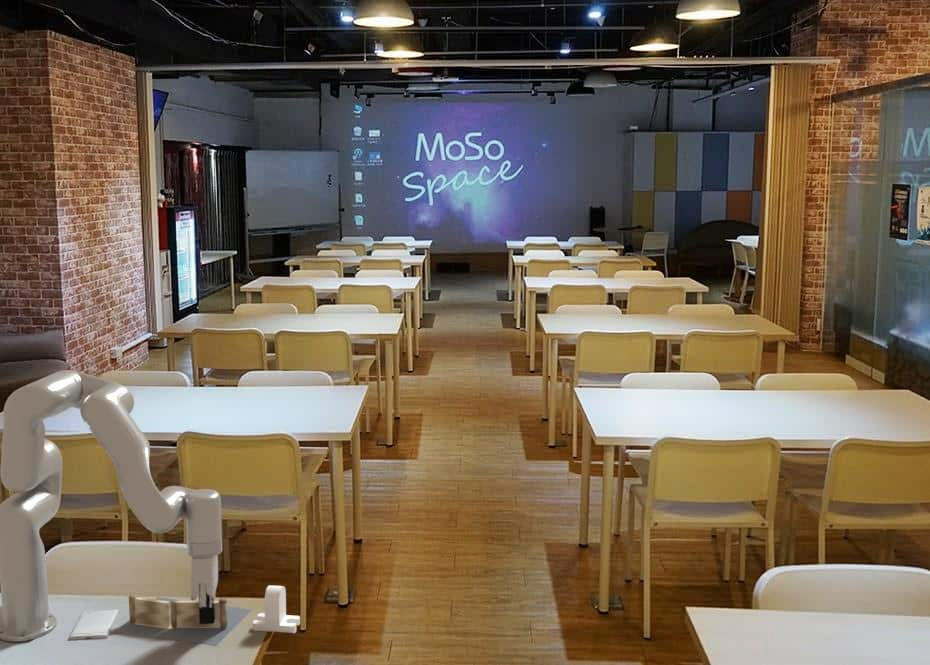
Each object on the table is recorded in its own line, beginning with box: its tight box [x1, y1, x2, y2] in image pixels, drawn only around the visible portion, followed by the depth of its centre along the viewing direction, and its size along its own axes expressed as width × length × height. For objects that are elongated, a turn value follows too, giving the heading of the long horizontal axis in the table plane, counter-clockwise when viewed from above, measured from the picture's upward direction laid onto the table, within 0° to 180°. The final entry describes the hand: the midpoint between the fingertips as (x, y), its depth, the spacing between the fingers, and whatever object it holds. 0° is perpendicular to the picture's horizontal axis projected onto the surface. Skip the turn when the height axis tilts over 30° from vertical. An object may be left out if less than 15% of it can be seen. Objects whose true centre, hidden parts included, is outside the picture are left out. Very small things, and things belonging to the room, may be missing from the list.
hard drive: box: [68, 609, 120, 640], centre depth 221 cm, size 2×8×12 cm
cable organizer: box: [252, 584, 301, 635], centre depth 222 cm, size 5×10×10 cm, turn 84°
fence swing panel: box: [170, 597, 228, 628], centre depth 220 cm, size 13×2×7 cm, turn 91°
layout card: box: [115, 596, 253, 646], centre depth 224 cm, size 25×18×1 cm
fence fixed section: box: [128, 593, 171, 628], centre depth 222 cm, size 10×2×6 cm, turn 77°
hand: (207, 622), depth 217 cm, fingers closed
